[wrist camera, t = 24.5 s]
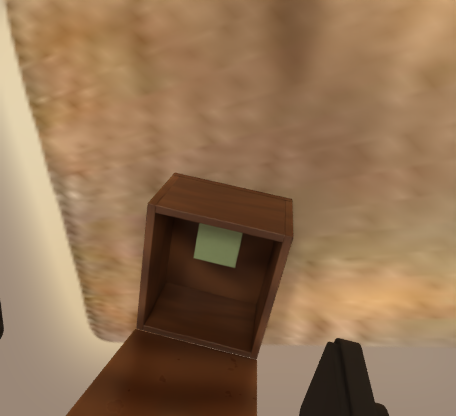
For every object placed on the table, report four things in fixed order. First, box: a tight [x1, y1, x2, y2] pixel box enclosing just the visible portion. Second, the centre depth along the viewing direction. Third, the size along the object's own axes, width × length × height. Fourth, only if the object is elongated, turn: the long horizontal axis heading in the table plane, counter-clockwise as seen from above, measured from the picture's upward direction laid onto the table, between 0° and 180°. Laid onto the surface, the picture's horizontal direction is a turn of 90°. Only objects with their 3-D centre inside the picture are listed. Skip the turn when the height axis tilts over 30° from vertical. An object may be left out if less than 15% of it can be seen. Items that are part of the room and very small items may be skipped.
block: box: [194, 223, 243, 268], centre depth 40 cm, size 5×5×5 cm
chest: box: [137, 173, 293, 359], centre depth 40 cm, size 16×14×9 cm
